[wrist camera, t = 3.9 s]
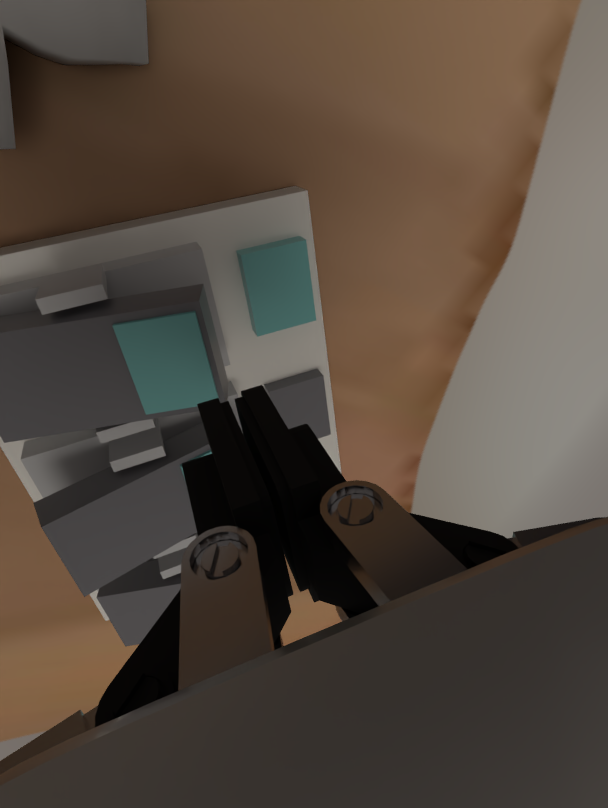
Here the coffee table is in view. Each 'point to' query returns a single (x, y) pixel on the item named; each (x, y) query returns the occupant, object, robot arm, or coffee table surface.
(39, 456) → the switch unit
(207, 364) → the rocker nearest
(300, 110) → the coffee table surface
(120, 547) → the rocker middle
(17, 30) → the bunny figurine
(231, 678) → the robot arm
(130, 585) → the rocker
